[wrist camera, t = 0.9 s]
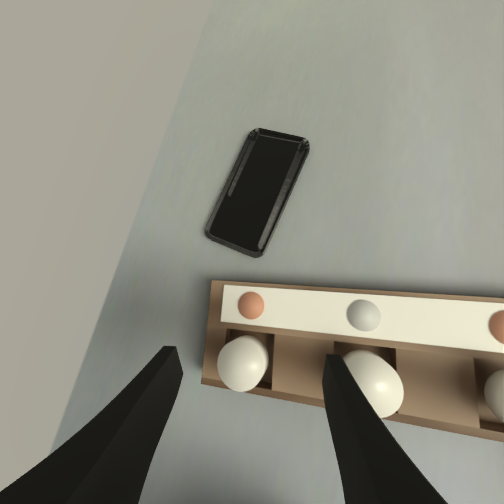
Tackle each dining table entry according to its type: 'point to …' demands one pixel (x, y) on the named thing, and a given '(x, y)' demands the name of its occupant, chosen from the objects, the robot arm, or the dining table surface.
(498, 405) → the end button
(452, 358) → the button board
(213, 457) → the dining table surface
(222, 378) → the end button
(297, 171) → the phone
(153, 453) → the robot arm
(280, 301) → the pattern card
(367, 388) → the middle button
